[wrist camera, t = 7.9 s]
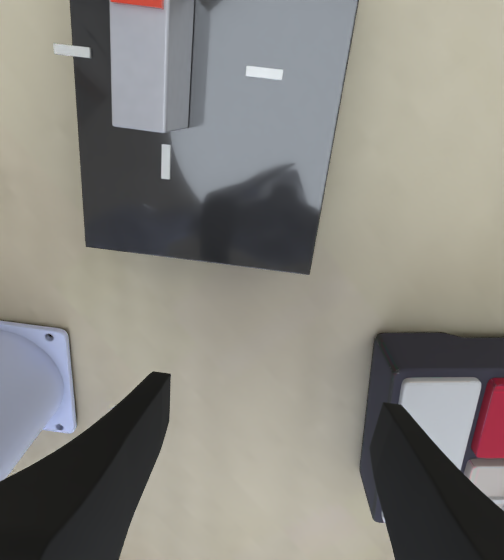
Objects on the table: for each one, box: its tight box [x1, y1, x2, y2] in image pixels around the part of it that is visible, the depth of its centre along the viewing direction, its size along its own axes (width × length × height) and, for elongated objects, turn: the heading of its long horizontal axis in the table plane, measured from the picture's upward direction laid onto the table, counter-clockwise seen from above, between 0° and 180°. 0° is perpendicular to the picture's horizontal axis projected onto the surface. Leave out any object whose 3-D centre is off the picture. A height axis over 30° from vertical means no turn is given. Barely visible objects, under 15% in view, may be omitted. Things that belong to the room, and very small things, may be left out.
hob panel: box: [54, 0, 359, 275], centre depth 17 cm, size 11×12×3 cm
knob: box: [109, 0, 194, 133], centre depth 13 cm, size 5×2×4 cm, turn 173°
